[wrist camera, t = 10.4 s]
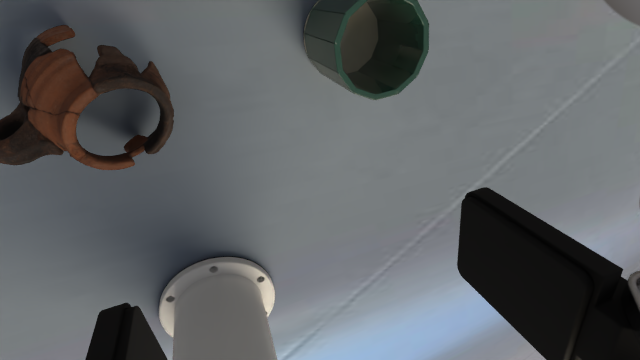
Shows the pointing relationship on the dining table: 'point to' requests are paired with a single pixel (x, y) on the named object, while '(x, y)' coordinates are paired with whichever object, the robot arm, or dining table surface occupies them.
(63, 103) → the broken pottery
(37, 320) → the dining table surface
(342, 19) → the green mug
